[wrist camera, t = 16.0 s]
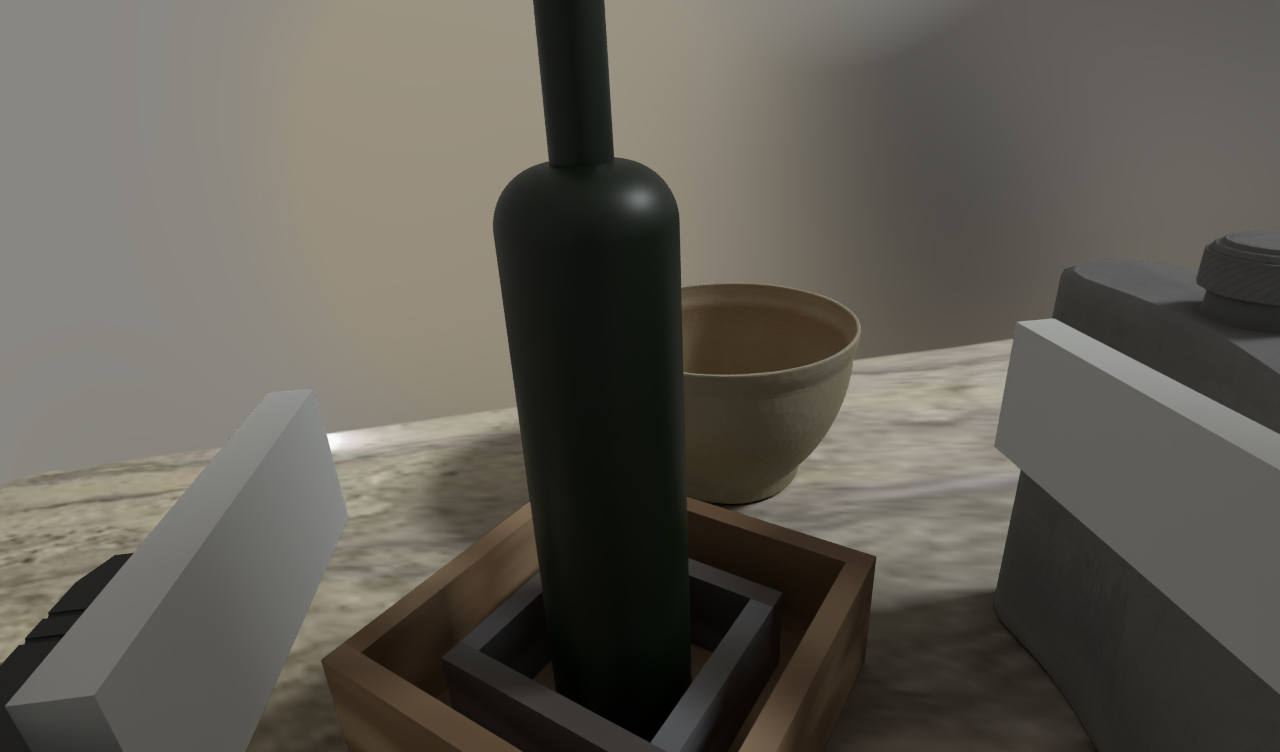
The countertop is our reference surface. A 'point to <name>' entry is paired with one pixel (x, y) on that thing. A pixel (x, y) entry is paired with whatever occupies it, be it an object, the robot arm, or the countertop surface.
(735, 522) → the crate
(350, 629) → the countertop surface
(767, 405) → the planter bowl
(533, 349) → the wine bottle
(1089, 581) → the flask
